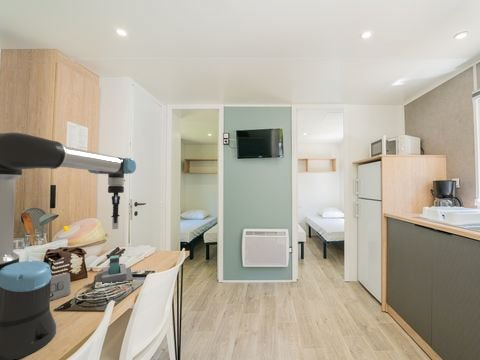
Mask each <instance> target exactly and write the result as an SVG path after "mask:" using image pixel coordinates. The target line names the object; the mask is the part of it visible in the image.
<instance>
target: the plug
mask: <svg viewBox="0 0 480 360" xmlns="http://www.w3.org/2000/svg"><path fill="white" fill-rule="evenodd" d="M119 265H120V255H111V256H110V257H109V266H110V275H113V274H119Z"/></svg>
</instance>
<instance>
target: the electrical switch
mask: <svg viewBox="0 0 480 360" xmlns="http://www.w3.org/2000/svg"><path fill="white" fill-rule="evenodd" d="M71 288H72V287H71V274H70V273H69V272H65V273H60V274H58V275H53V276H51V286H50V302H51V301H54V300H58V299H60V298H63V297H66V296H67V297H68V296H70V295H71V293H72V292H71V291H72V289H71Z"/></svg>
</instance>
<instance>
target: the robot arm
mask: <svg viewBox="0 0 480 360" xmlns="http://www.w3.org/2000/svg"><path fill="white" fill-rule="evenodd" d="M59 168H69V169H78V170H85V171H88V173H90V174H95V175H99V174H100V175H107V185H108V187H107V193H109V194H113V195H112V196H111V204H112V215H111V218H112V227H111V229H112V230H118V229H119V217H120V214H119V205H120V200H121V196H120V195H119V194H122V193H123V194H124V191H125V189H124V188H125V187H124V185H125V184H124V183H125V182H126V180H125V174H126V175H128V174H129V175H130V174H131V175H132V174H133V173H135V171H136V169H137V164H136V161H135V160H134V159H133V158H128V157H125V158H124V157H118V156H113V155H108V154H104V153H99V152H93V151H90V150H85V149H79V148H74V147H69V146H66V145H63V144H62V142H59V141H55V140H52V139H51V140H50V139H48V138H44V137H39V136H36V135H31V134H28V133H21V132H5V133H4V132H1V133H0V360H14V359H16V360H19V359H21V358H24V357H26V356H28V355H31V354H32V353H35V352H36V351H38V350H40V349H42V348H43V347H45V346H46V345H47V344H48V343H50V342H51V341H52V340H53V339H54V338H55V336H56V334H57V324H56V323H57V322H56V321H55V319H54V317H53V315H52V312H51V310H50V309H51V301H50V297H51V294H50V286H51V277H52V272H51V271H52V269H51V266H50V265H49V263H47V262H44V261H41V260H40V261H39V260H27V261H20V255H19V254H18V253H16V252H14V237H15V236H14V232H15V230H14V229H15V207H16V205H15V203H16V181H17V180H19V179H20V178H22V177H23V170H31V169H32V170H33V169H51V170H52V169H53V170H55V169H56V170H57V169H59ZM18 358H19V359H18Z"/></svg>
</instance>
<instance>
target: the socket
mask: <svg viewBox="0 0 480 360" xmlns="http://www.w3.org/2000/svg"><path fill="white" fill-rule="evenodd" d="M133 278H134V277H133V273H132V269H131V267H126V264H125V263H123V264H119V274H113V275H110V265H109V266H103V268H102V272H97V273H96V277H95V281H94V284H95V283H96V282H102V284H104V283H111V282H112V283H116V282H123V281H133V282H134V279H133Z"/></svg>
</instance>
